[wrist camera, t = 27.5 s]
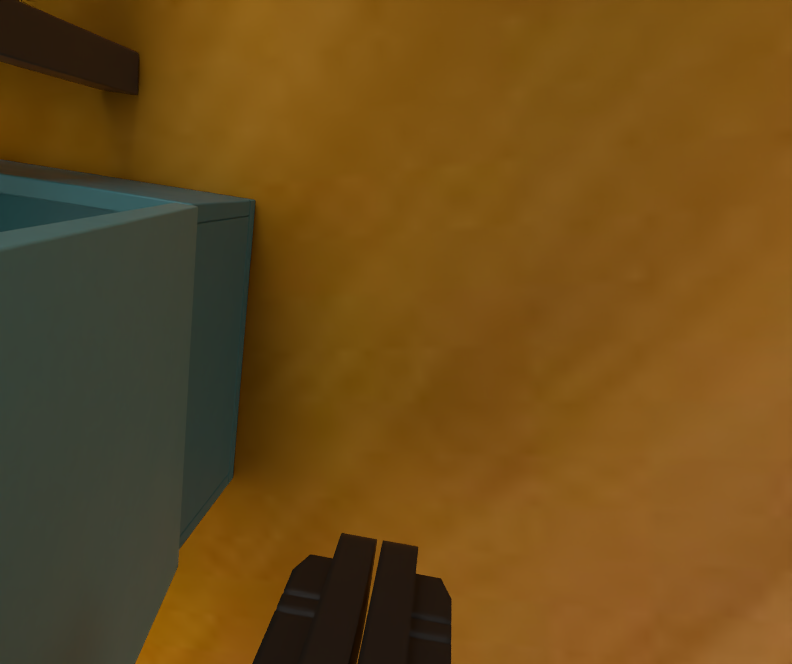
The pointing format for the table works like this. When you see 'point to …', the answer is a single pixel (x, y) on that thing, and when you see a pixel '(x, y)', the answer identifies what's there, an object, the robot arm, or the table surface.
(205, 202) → the teal open box
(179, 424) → the lid
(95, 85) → the stool
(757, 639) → the table surface
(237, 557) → the table surface
